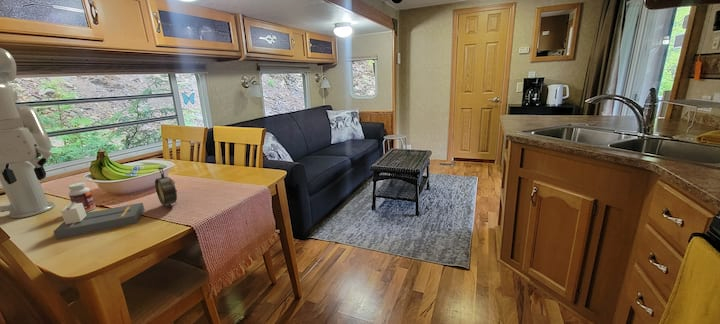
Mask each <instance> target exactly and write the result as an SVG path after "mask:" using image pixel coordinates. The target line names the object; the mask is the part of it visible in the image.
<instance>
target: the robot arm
mask: <svg viewBox="0 0 720 324" xmlns="http://www.w3.org/2000/svg"><path fill="white" fill-rule="evenodd" d="M16 78H17V63H16V60H15V59H14V56H13V55H12V54H11V53H10V52H9V51H8V50H7V49H4V48H2V47H0V183H1V186H2V188H3V191H4V193H5V195H6V197H7V199H8V202H9V204H8V205H7V204H5V205H0V213H6V212H9V214H8V216H9V218H11V219H22V218H27V217H31V216H35V215H38V214H42V213H45V212H47V211H49V210H51V209H53V208H54V207H55V205H56V204H55V203H54V202H53V201H48V199H47V196H46V194H45V192H44V189H43V187H42V184H41V181H42V180H44V179H45V178H46V177H47V172H46V171H45V170H46V169H45V168H44V166H45V164H46V163H47V162H48V160H49V159H50V158H51V156H52V155H53V153H52V152H51V151H52V147H53V146H52V142H51V139H50V137H49V134H48V133H47V131H46V129H45V127H44V124H43V123H42V121H41V118H40V116H39V115H38V113H37V111H36V110H35V109H34V108H32V107H31V106H30V105H24V104H23V105H22V104H21V105H16V104H17V101H18V100H19V96H18V92H17V90H16V89H15V87H13V86H11V85H10V84H9V83H10V82H13V81H15V80H16ZM8 82H9V83H8ZM39 157H41V158H39Z"/></svg>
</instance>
